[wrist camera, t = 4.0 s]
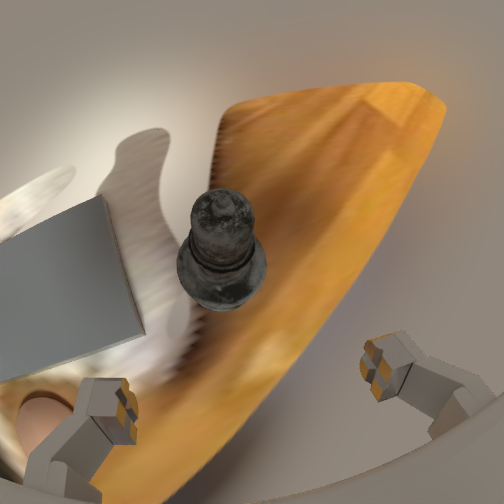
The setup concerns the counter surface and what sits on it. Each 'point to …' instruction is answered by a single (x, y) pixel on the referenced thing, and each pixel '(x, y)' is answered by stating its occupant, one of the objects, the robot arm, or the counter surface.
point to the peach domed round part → (39, 421)
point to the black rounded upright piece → (221, 252)
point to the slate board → (63, 292)
